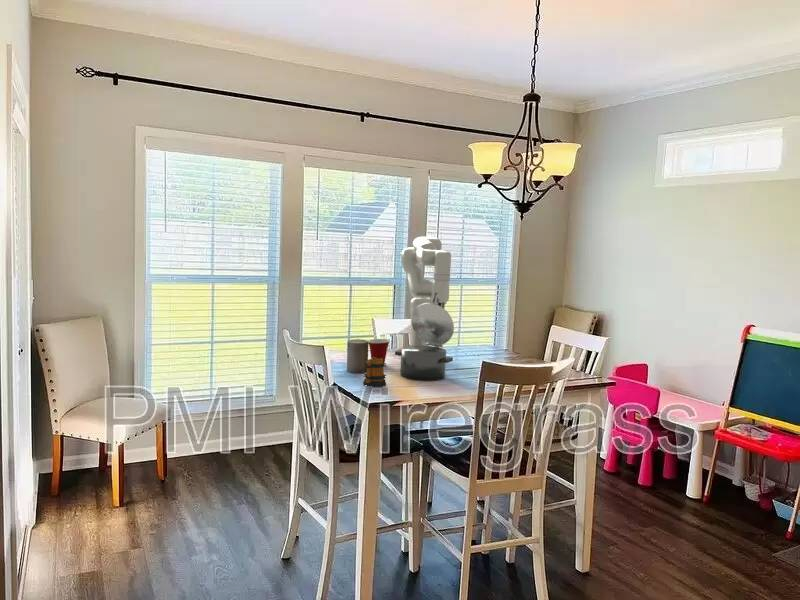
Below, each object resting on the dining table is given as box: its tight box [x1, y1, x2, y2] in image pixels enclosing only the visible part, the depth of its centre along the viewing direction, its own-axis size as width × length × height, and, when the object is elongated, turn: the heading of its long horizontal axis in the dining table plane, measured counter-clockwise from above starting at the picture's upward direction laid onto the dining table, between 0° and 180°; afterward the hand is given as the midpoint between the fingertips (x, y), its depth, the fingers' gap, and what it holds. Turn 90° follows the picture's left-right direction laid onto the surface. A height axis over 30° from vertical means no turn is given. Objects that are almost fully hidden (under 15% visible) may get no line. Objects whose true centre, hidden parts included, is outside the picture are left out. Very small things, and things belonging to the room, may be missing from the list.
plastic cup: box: [367, 338, 391, 363], centre depth 300 cm, size 11×11×12 cm
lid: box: [410, 303, 455, 348], centre depth 286 cm, size 21×22×3 cm
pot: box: [394, 345, 454, 382], centre depth 281 cm, size 26×20×12 cm
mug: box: [362, 357, 387, 388], centre depth 259 cm, size 13×10×12 cm
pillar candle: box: [346, 338, 369, 374], centre depth 284 cm, size 10×10×15 cm
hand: (439, 317), depth 291 cm, fingers closed
